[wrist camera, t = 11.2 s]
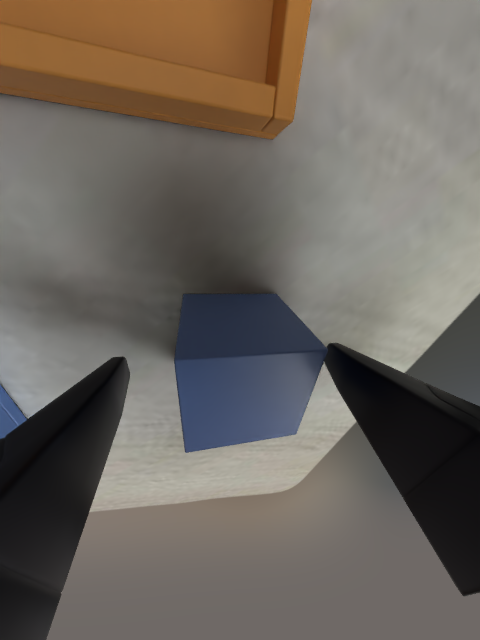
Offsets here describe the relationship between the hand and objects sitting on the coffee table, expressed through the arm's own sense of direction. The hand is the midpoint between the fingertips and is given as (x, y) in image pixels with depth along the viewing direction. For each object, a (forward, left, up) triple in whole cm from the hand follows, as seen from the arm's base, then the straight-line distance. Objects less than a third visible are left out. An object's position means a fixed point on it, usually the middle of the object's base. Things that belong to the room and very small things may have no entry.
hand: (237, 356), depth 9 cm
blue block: (0, 0, -2) cm, 2 cm away
